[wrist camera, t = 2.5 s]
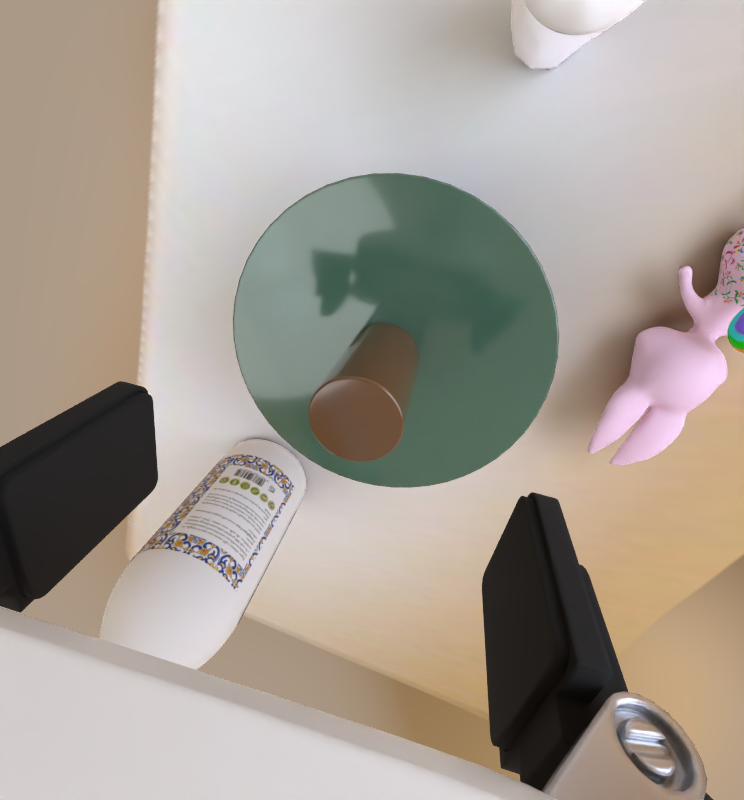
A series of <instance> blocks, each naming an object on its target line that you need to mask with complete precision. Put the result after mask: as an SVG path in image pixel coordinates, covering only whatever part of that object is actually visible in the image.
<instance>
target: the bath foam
mask: <svg viewBox="0 0 744 800" xmlns="http://www.w3.org/2000/svg"><path fill="white" fill-rule="evenodd" d="M305 491H306V476H305V472H304V470H303V468H302V466H301V464H300V462H299V461H298V460H297V458H296V457H295V456H294V455H293V454H292V453H291V452H289V451H288V450H287V449H285V448H284V447H282V446H280V445H279V444H276V443H274V442H271V441H267V440H262V439H251V440H246V441H243V442H240V443H238V444H237V445H235V446H234V447H232V448H231V449H230V450H229V451H228V453H227V454H226V455H225V456H224V457H223V458H222V459H221V460H220V461H219V462H218V463H217V464H216V466H215V467H214V468H213V469H212V470H211V471H210V472H209V473H208V475H207V476H206V477H205V478H204V479H203V480H202V481H201V482H200V484H199V485H198V486H197V487H196V488H195V489H194V490H193V491H192V493H191V494H190V495H189V496H188V497H187V498H186V499H185V500H184V502H183V503H182V504H181V505H180V506H179V507H178V508H177V509H176V510H175V512H174V513H173V514H172V515H171V516H170V517H169V518H168V519H167V521H166V522H165V523H164V524H163V525H162V526H161V527H160V528H159V530H158V531H157V532H156V533H155V534H154V535H153V536H152V537H151V539H150V540H149V541H148V542H147V543H146V544H145V545H144V546H143V548H142V549H141V550H140V551H139V552H138V553H137V554H136V555H135V556H134V558H133V559H132V560H131V562H130V563H129V564H128V566H127V567H126V569H125V570H124V572H123V573H122V575H121V576H120V578H119V580H118V581H117V583H116V585H115V587H114V589H113V591H112V593H111V595H110V598H109V600H108V603H107V606H106V609H105V613H104V617H103V621H102V626H101V632H100V638H99V639H102V640H105V641H108V642H111V643H114V644H117V645H120V646H123V647H127V648H130V649H133V650H136V651H139V652H142V653H145V654H148V655H151V656H154V657H157V658H161V659H164V660H167V661H170V662H173V663H176V664H179V665H182V666H185V667H188V668H191V669H195V670H197V669H198V668H199V667H201V666H202V665H203V664H204V663H205V662H207V661H208V660H209V659H210V658H211V657H212V656H213V655H214V654H215V653H216V652H217V651H218V650H219V649H220V648H221V647H222V645H223V644H224V643H225V642H226V640H227V639H228V638H229V636H230V635H231V634H232V632H233V630H234V629H235V627H236V626H237V625H238V623H239V621H240V619H241V617H242V616H243V614H244V612H245V610H246V608H247V606H248V604H249V602H250V600H251V598H252V596H253V594H254V592H255V590H256V588H257V586H258V585H259V583H260V581H261V579H262V577H263V575H264V573H265V571H266V569H267V567H268V565H269V563H270V561H271V559H272V557H273V555H274V554H275V552H276V550H277V548H278V546H279V544H280V542H281V540H282V538H283V536H284V534H285V532H286V530H287V528H288V526H289V524H290V522H291V521H292V519H293V517H294V515H295V513H296V511H297V508H298V506H299V504H300V503H301V501H302V499H303V496H304V494H305Z"/></svg>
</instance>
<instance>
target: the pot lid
mask: <svg viewBox="0 0 744 800" xmlns="http://www.w3.org/2000/svg"><path fill="white" fill-rule="evenodd" d="M233 329H234V342H235V349H236V355H237V359H238V363H239V366H240V370H241V373H242V376H243V378H244V381H245V383H246V386H247V388H248V390H249V393H250V394H251V396H252V398H253V400H254V401H255V403H256V405H257V407H258V408H259V410H260V411H261V413H262V414H263V415H264V417H265V418H266V420H267V421H268V422H269V424H270V425H271V426H272V427H273V428H274V429H275V430H276V431H277V433H278V434H279V435H280V436H281V437H282V438H283V439H284V440H285V441H287V442H288V443H289V444H290V445H291V446H292V447H293V448H294V449H296V450H297V451H298V452H300V453H301V454H302V455H304V456H305V457H307V458H308V459H309V460H311V461H313V462H315V463H316V464H318V465H320V466H321V467H323V468H325V469H327V470H329V471H332V472H334V473H336V474H338V475H340V476H343V477H346V478H349V479H352V480H355V481H359V482H363V483H368V484H372V485H378V486H386V487H420V486H429V485H434V484H439V483H444V482H448V481H451V480H454V479H457V478H460V477H463V476H465V475H467V474H470V473H472V472H474V471H476V470H478V469H480V468H482V467H484V466H485V465H487V464H488V463H490V462H492V461H493V460H495V459H496V458H498V457H499V456H500V455H501V454H503V453H504V452H505V451H506V450H508V449H509V448H510V447H511V446H512V445H513V444H514V443H515V442H516V441H517V440H518V439H519V438H520V437H521V436H522V435H523V434H524V433H525V431H526V430H527V428H528V427H529V426H530V424H531V423H532V422H533V420H534V419H535V417H536V416H537V414H538V412H539V410H540V409H541V407H542V405H543V403H544V401H545V399H546V397H547V394H548V391H549V389H550V386H551V383H552V381H553V377H554V373H555V368H556V363H557V358H558V343H559V330H558V319H557V311H556V307H555V303H554V298H553V294H552V290H551V288H550V285H549V283H548V280H547V278H546V275H545V273H544V270H543V268H542V266H541V265H540V263H539V261H538V259H537V258H536V256H535V254H534V253H533V251H532V249H531V248H530V246H529V245H528V244H527V242H526V241H525V240H524V239H523V238H522V236H521V235H520V234H519V233H518V231H517V230H516V229H515V228H514V227H513V226H512V225H511V224H510V223H509V222H508V221H507V220H506V219H504V218H503V217H502V216H501V215H500V214H499V213H498V212H497V211H496V210H495V209H493V208H492V207H490V206H489V205H487V204H486V203H484V202H483V201H481V200H480V199H478V198H477V197H475V196H473V195H472V194H470V193H467V192H465V191H463V190H461V189H459V188H457V187H455V186H452V185H450V184H447V183H444V182H440V181H437V180H434V179H430V178H427V177H422V176H415V175H408V174H400V173H383V174H368V175H362V176H356V177H350V178H347V179H344V180H341V181H337V182H334V183H331V184H328V185H326V186H324V187H322V188H320V189H318V190H316V191H314V192H312V193H310V194H308V195H306V196H304V197H303V198H301V199H300V200H298V201H297V202H296V203H294V204H293V205H291V206H290V207H289V208H287V209H286V210H285V211H284V212H283V213H282V214H281V215H280V216H279V217H278V218H277V219H276V220H275V221H274V222H273V223H272V224H270V226H269V227H268V228H267V230H266V231H265V232H264V234H263V235H262V236H261V237H260V239H259V240H258V241H257V243H256V245H255V247H254V248H253V250H252V252H251V254H250V256H249V257H248V259H247V261H246V264H245V267H244V269H243V272H242V274H241V277H240V280H239V284H238V289H237V293H236V297H235V304H234V315H233Z"/></svg>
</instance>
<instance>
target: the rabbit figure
mask: <svg viewBox="0 0 744 800" xmlns="http://www.w3.org/2000/svg"><path fill="white" fill-rule="evenodd" d="M692 273H693V271H692V269H691V268H690V267H689V266H683V267H681V268H680V269H679V272H678V278H679V287H680V293H681V297H682V299H683V302H684V304H685V307H686V309H687V311H688V312H689V314H690V315H691V316H692V318H693V321H694V325H693V327H692V328H691V329H690V330H688V331H686V332H680V331H677V330H674V329H671V328H668V327H653V328H649V329H646V330H644V331H642V332H640V333H639V334H638V336H637V337H636V341H635V347H634V352H633V356H632V362H631V369H630V374H629V377H628V379H627V380H626V382H625V383H624V384H623V385H622V386H620V387H619V388H618V389H617V390H616V391H615V392H614V394H613V395H612V397H611V398H610V400H609V402H608V403H607V405H606V407H605V410H604V412H603V414H602V416H601V418H600V420H599V422H598V424H597V426H596V428H595V431H594V433H593V435H592V438H591V440H590V443H589V446H588V452H589V453H590V454H594V453H596V452H597V451H599V450H601V449H602V448H604V447H606V446H608V445H609V444H611V443H613V442H614V441H616V440H617V439H619V438H620V437H621V436H622V435H623V434H624V433H625V432H626V431H627V430H628V429H629V428H630V427H631V426H632V425H633V424H634V423H635V422H636V421H637V420H638V419H639V418H640V417H641V416H642V415H643V413H644V412H645V410H646V409H647V408H648V407H649V406H650V408H649V410H648V412H647V413H646V414H645V415H644V417H643V418H642V419H641V421H640V422H639V423H638V424H637V425H636V427H635V428H634V429H633V431H632V432H631V434H630V435H629V436H628V438H627V439H626V440H625V441H624V443H623V444H622V445H621V447H620V448H619V449H618V451H617V452H616V454H615V455H614V456H613V458H612V459H611V460H610V464H611V465H625V464H631V463H636V462H640V461H643V460H646V459H649V458H651V457H653V456H655V455H657V454H658V453H660V452H661V451H663V450H664V449H665V448H666V447H667V446H669V445H670V444H671V443H672V442H673V441H674V440H675V439H676V437H677V436H678V435H679V434H680V432H681V430H682V429H683V426H684V423H685V417H686V414H687V413H688V412H689V411H691V410H692V409H694V408H695V407H697V406H698V405H700V404H701V403H703V402H704V401H705V400H706V399H707V398H708V397H709V396H710V395H711V394H712V393H713V392H714V390H715V389H716V388H717V387H718V386H720V385H721V384H722V383H723V382H724V381H725V380H726V378H727V363H726V359H725V357H724V355H723V353H722V352H721V351H720V350H719V349H718V348H717V346H716V345H715V341H716V339H717V338H718V337H720V336H728V339H729V342H730V344H731V345H732V346H733V347H734V348H735V349H736V350H738V351H740V352H743V353H744V227H743V228H741V229H739V230H738V231H737V232H735V233H734V234H733V235H732V236H731V237H730V239H729V240H728V241H727V243H726V245H725V247H724V249H723V252H722V257H721V263H720V271H719V280H718V284H717V286H716V288H715V289H714V290H713V291H712V292H711V293H710V294H708V295H707V296H706V297H704V298H700V297H699V296H698V295H697V294H696V293H695V291H694V289H693V287H692Z"/></svg>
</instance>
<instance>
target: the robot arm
mask: <svg viewBox="0 0 744 800" xmlns="http://www.w3.org/2000/svg"><path fill="white" fill-rule="evenodd" d="M157 481H158V471H157V456H156V441H155V426H154V411H153V399H152V397H151V395H149V394H148V391H147V390H146V388H144V387H141V386H138V385H134V384H130V383H127V382H117V383H115V384H113V385H112V386H110V387H108V388H106V389H104V390H102V391H101V392H99V393H97V394H95V395H93V396H92V397H90V398H88V399H86V400H85V401H83V402H81V403H79V404H78V405H75V406H74V407H72V408H70V409H68V410H67V411H65V412H63V413H61V414H59V415H57V416H56V417H54V418H52V419H50V420H48V421H46V422H45V423H43V424H41V425H39V426H38V427H36V428H34V429H32V430H30V431H28V432H27V433H25V434H23V435H21V436H19V437H18V438H16V439H14V440H12V441H10V442H9V443H7V444H5V445H3V446H1V447H0V606H2V607H5V608H9V609H11V610H14V611H17V612H21V611H23V610H24V609H25V608H26V607H27V606H28V605H29V604H30V603H31V602H32V601H33V600H34V599H38V598H41V597H43V596H44V595H46V594H47V593H48V592H49V591H50V590H51V589H52V588H53V587H54V586H55V585H56V584H57V583H58V582H59V581H60V580H62V579H63V578H64V576H66V575H67V574H68V573H69V572H70V571H71V570H72V569H73V568H74V567H75V566H76V565H77V564H78V563H79V562H80V561H81V560H82V559H83V558H84V557H85V556H86V555H87V554H88V553H89V552H90V551H91V550H92V549H93V548H94V547H95V546H97V544H99V543H100V542H101V541H102V540H103V539H104V538H105V537H106V536H107V535H108V534H109V533H110V532H111V531H112V530H113V529H114V528H115V527H116V526H117V525H118V524H119V523H120V522H121V521H122V520H123V519H124V518H125V517H126V516H127V515H128V514H129V513H130V512H132V511H133V510H134V509H135V508H136V507H137V506H138V505H139V504H140V503H141V502H142V501H143V500H144V499H145V498H146V497H147V496H148V495H149V494H150V493H151V492H152V491H153V490H154V488H155V486H156V484H157ZM482 597H483V614H484V632H485V650H486V667H487V685H488V702H489V720H490V735H491V741H492V743H493V745H494V746H497V747H499V749H500V763H501V768H503V769H505V770H509V771H512V772H515V773H518V774H520V780H521V782H520V781H518V780H515V779H513V778H510V777H508V776H505V775H503V774H501V773H498V772H496V771H493V770H491V769H488V768H486V767H483V766H481V765H478V764H475V763H472V762H469V761H467V760H464V759H461V758H458V757H455V756H452V755H450V754H446V753H444V752H441V751H438V750H435V749H432V748H430V747H427V746H424V745H421V744H418V743H415V742H412V741H409V740H407V739H404V738H401V737H398V736H395V735H392V734H389V733H386V732H383V731H380V730H377V729H374V728H371V727H368V726H365V725H362V724H359V723H356V722H353V721H350V720H347V719H344V718H341V717H338V716H335V715H332V714H329V713H326V712H323V711H320V710H317V709H314V708H310V707H308V706H305V705H302V704H298V703H295V702H293V701H289V700H287V699H283V698H280V697H277V696H274V695H271V694H268V693H265V692H262V691H259V690H256V689H253V688H250V687H247V686H243V685H241V684H238V683H235V682H232V681H228V680H225V679H222V678H219V677H216V676H213V675H210V674H207V673H203V672H201V671H198V670H195V669H191V668H188V667H185V666H182V665H179V664H176V663H173V662H170V661H167V660H164V659H161V658H157V657H154V656H151V655H148V654H145V653H142V652H139V651H136V650H133V649H130V648H127V647H123V646H120V645H117V644H114V643H111V642H108V641H105V640H102V639H98V638H95V637H92V636H89V635H86V634H83V633H80V632H76V631H73V630H70V629H66V628H64V627H60V626H57V625H54V624H51V623H48V622H45V621H42V620H38V619H35V618H32V617H29V616H26V615H23V614H20V613H17V612H13V611H10V610H7V609H4V608H0V800H713V799H712V798H711V797H710V796H709V795H708V794H707V793H706V785H707V778H706V773H705V769H704V765H703V762H702V760H701V757H700V755H699V753H698V751H697V750H696V748H695V745H694V744H693V742H692V741H691V739H690V738H689V737H688V735H687V734H686V732H685V731H684V730H683V728H682V727H681V726H680V725H679V724H678V723H677V722H676V721H675V720H674V719H673V718H672V717H671V716H670V715H669V714H668V713H667V712H666V711H665V710H663V709H662V708H661V707H659V706H658V705H656V704H655V703H654V702H652V701H651V700H649V699H647V698H645V697H643V696H641V695H639V694H635V693H630V692H628V689H627V687H626V684H625V681H624V678H623V675H622V672H621V669H620V666H619V663H618V660H617V657H616V654H615V651H614V648H613V645H612V642H611V639H610V636H609V633H608V630H607V627H606V624H605V621H604V619H603V616H602V613H601V610H600V607H599V604H598V601H597V598H596V595H595V592H594V589H593V586H592V583H591V580H590V577H589V574H588V572H587V570H586V569H585V568H584V567H583V566H582V565H579V563H578V560H577V557H576V554H575V550H574V547H573V544H572V541H571V538H570V535H569V532H568V529H567V526H566V522H565V519H564V516H563V513H562V510H561V507H560V504H559V502H558V500H557V499H555V498H552V497H548V496H544V495H541V494H537V493H530V494H529V495H528V497H524V496H521V497H520V498H519V500H518V502H517V504H516V506H515V508H514V510H513V513H512V515H511V517H510V519H509V521H508V523H507V525H506V528H505V530H504V532H503V534H502V536H501V538H500V540H499V542H498V545H497V547H496V549H495V551H494V553H493V555H492V557H491V560H490V562H489V564H488V566H487V568H486V570H485V573H484V576H483V581H482Z"/></svg>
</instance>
